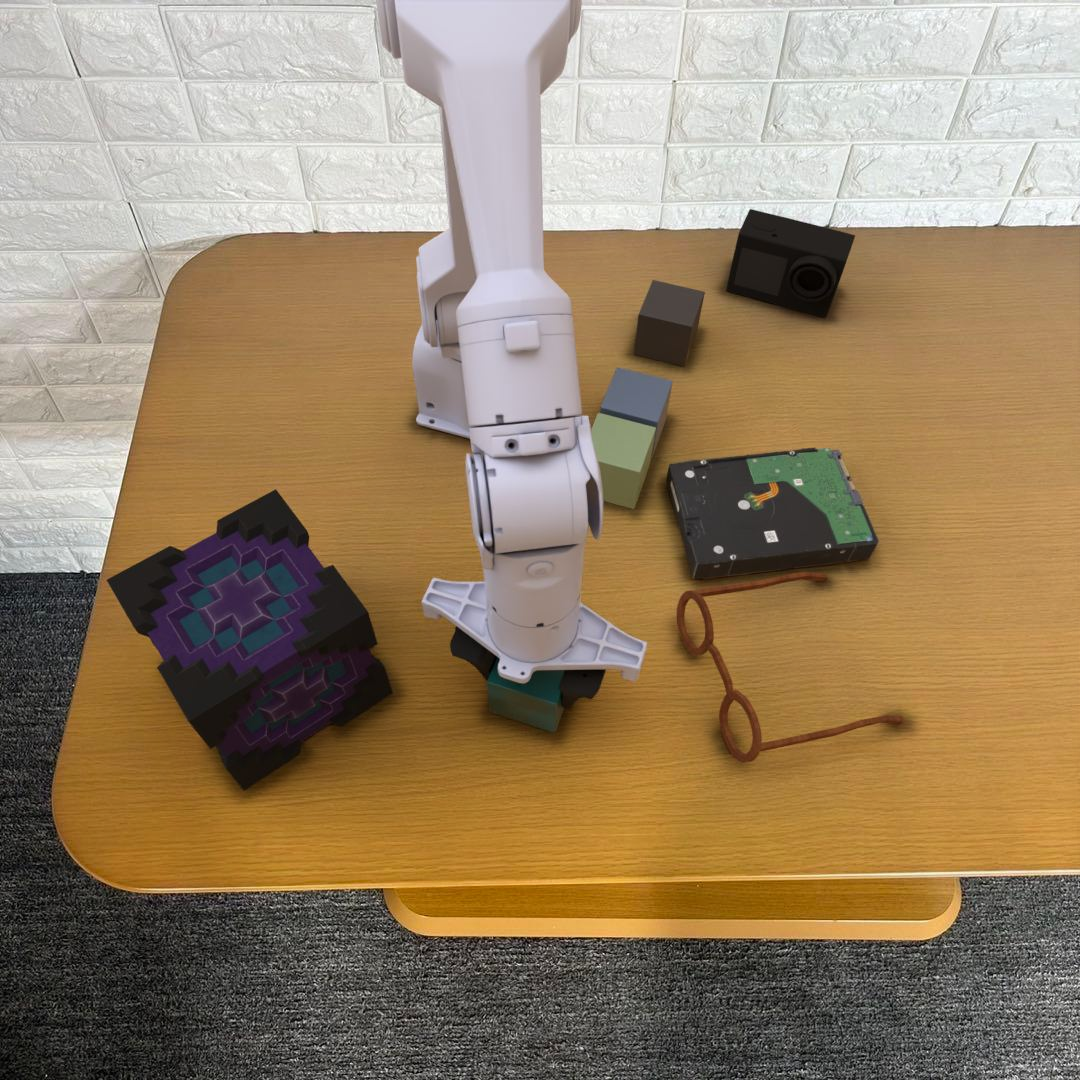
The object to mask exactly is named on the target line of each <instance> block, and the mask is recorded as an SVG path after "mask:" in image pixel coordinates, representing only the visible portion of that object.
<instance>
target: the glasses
mask: <svg viewBox="0 0 1080 1080" xmlns="http://www.w3.org/2000/svg"><path fill="white" fill-rule="evenodd" d="M827 579H829V576H828V574H827V573H823V572H813V571H802V572H801V571H800V572H795V573H788V574H783V575H778V576H773V577H770V578H766V579H761V580H754V581H748V582H740V583H734V584H727V585H719V586H712V587H707V588H705V587H704V588H700V589H690V590H686V591H684V592H683V593H682V594H681V595H680V597H679V600H678V602H677V606H676V623H677V628H678V632H679V636H680V638H681V640H682V642H683V645H684V647H685V648H686V650H687V651H688V652H689V653H690V654H691V655H692V656H696V657H697V656H701V655H704V654H706V653H707V652H708V653H709V654H710V655H711V657H712V660H713V662H714V664H715V667H716V669H717V671H718V674H719V676H720V678H721V680H722V683H723V685H724V689H725V695H724V697H723V699H722V701H721V704H720V707H719V713H718V718H719V720H718V721H719V726H720V730H721V734H722V737H723V740H724V742H725V745H726V746H727V749H728V751H729V752H730V753H731V755H732V757H733V758H734V759H735V760H737V762H739V763H741V764H742V763H743V764H746V763H750V762H754V761H755V760H756V759H757V758H758V757H759V754H760V753H763V752H766V751H771V750H775V749H776V750H777V749H780V748H785V747H789V746H794V745H799V744H803V743H808V742H813V741H818V740H821V739H826V738H827V739H828V738H831V737H836V736H839V735H841V734H842V735H843V734H845V733H848V732H851V731H854V730H857V729H860V728H865V727H868V726H873V725H877V724H895V725H896V724H900V723H904V722H906V719H905V718H904V715H892V714H891V715H889V714H887V715H886V714H885V715H879V716H874V717H869V718H865V719H859V720H856V721H853V722H849V723H847V724H843V725H840V726H835V727H831V728H827V729H822V730H817V731H813V732H809V733H808V732H807V733H803V734H798V735H793V736H789V737H784V738H780V739H774V740H771V741H766V742H763V736H762V728H761V724H760V721H759V718H758V715H757V712H756V710H755V708H754V706H753V705H752V703H751V701H750V700H749V699H748V698H747V696H746V695H745V694H744V693H742V692H741V691H740V690H738V689H734V686H733V685H734V684H733V681H732V677H731V675H730V672H729V669H728V668H727V665H726V663H725V661H724V659H723V656H722V654H721V652H720V650H719V649H718V647H717V646H716V645H715V644H714V639H715V633H714V631H715V630H714V622H713V618H712V617H713V616H712V614H711V611H710V608H709V606H708V604H707V601H706V599H705V597H713V596H719V595H726V594H732V593H733V594H734V593H740V592H747V591H752V590H759V589H765V588H768V587H772V586H777V585H780V584H784V583H790V582H796V581H800V580H802V581H803V580H804V581H814V582H824V581H826V580H827ZM690 600H693V601H694V602H695V603H696V605H697V606H698V608H699V610H700V613H701V615H702V619H703V624H704V638H703V641H702V643H701V644H700V645H699V646H697V645H695V643H694V642H693V641H692V639H691V637H690V635H689V632H688V630H687V625H686V620H685V614H686V613H685V612H686V607H687V604H688V602H689V601H690ZM734 701H735V702H737V703H738V704H739V705H740V706H741V707H742V709H743V710H744V712H745V714H746V716H747V719H748V721H749V725H750V729H751V736H752V738H751V739H752V740H751V742H752V743H751V746H750V748H749V750H748V751H747V753H745V752H743V751H742V750H741V749H740V748H739V747H738V745H737V743H736V742H735V741H734V737H733V735H732V733H731V730H730V725H729V719H728V718H729V710H730V707H731V706H732V703H733V702H734Z"/></svg>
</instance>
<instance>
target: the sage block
mask: <svg viewBox="0 0 1080 1080" xmlns="http://www.w3.org/2000/svg"><path fill="white" fill-rule="evenodd" d="M590 428H591V435H592V441H593V445H594V448H595V452H596V455H597V459H598V463H599V468H600V473H601V480H602V489H603V502H606V503H609V504H613V505H616V506H620V507H623V508H627V509H631V510H635V508H636V506H637V503H638V500H639V497H640V495H641V493H642V492H641V491H642V488H643V487H644V486H643V485H644V484H645V480H646V478H647V474H648V472H649V469H650V466H651V461H652V460H651V455H652V449H653V443H654V437H655V432H656V427H652V426H648V425H644V424H640V423H636V422H633V421H629V420H625V419H621V418H617V417H613V416H609V415H605V414H602V413H600V412H597V414H596V416H595V419H594V421H593V423H592V426H591V427H590Z"/></svg>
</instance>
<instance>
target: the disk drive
mask: <svg viewBox="0 0 1080 1080" xmlns="http://www.w3.org/2000/svg"><path fill="white" fill-rule="evenodd" d="M842 456H843V453H842V452H841V451H840V449H831V447H821V448H817V447H807V448H800V449H792V450H782V451H773V452H763V453H754V454H744V455H734V456H726V457H724V456H723V457H714V458H706V459H692V460H684V461H679V462H673V463H671V462H670V463H669V464H668V468H667V473H666V478H665V482H666V486H667V489H668V492H669V495H670V500H671V501H670V502H671V504H672V509H673V511H674V515H675V518H676V519H675V520H676V522H677V523H676V524H677V526H678V527H677V528H678V530H679V533H680V536H681V541H682V546H683V549H684V552H685V555H686V559H687V561H688V563H689V564H688V565H689V568H690V573H691V577H692V579H693V580H698V579H715V578H721V577H722V578H723V577H731V576H738V575H740V576H741V575H748V574H754V573H755V574H756V573H764V572H765V573H766V572H771V571H772V572H774V571H781V570H785V569H798V568H799V569H800V568H806V567H815V566H816V567H817V566H823V565H824V566H825V565H832V564H841V563H849V562H855V561H861V560H869V559H871V557H872V556H873V554H874V552H875V550H876V549H877V547H878V545H879V544H880V543H879V542H880V540H879V538H878V535H877V532H876V531H875V528H874V526H873V524H872V521H871V519H870V517H869V514H868V512H867V510H866V507H865V505H864V501H863V498H862V496H861V494H860V492H859V490H857V488H856V487H855V484H854V482H853V479H851V477H852V476H851V475H850V472H849V470H848V468H847V465H846V463H845V461H844V459H843V458H842Z"/></svg>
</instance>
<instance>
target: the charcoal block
mask: <svg viewBox="0 0 1080 1080" xmlns="http://www.w3.org/2000/svg"><path fill="white" fill-rule="evenodd" d="M705 294H706V292H705V291H704V290H699V289H695V288H691V287H687V286H682V285H677V284H673V283H668V282H664V281H660V280H655V279H652V281H651V283H650V286H649V288H648V290H647V293H646V295H645V298H644V300H643V303H642V304H641V308H640V310H639V312H638V315H637V316H638V317H637V324H636V330H635V331H636V332H635V339H634V349H633V355H635V356H639V357H643V358H647V359H651V360H655V361H658V362H663V363H668V364H671V365H675V366H680V367H683V368H684V367H686V364H687V361H688V359H689V355H690V353H691V350H692V348H693V344H694V341H695V339H696V336H697V334H698V329H699V323H700V319H701V314H702V309H703V304H704V298H705Z"/></svg>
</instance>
